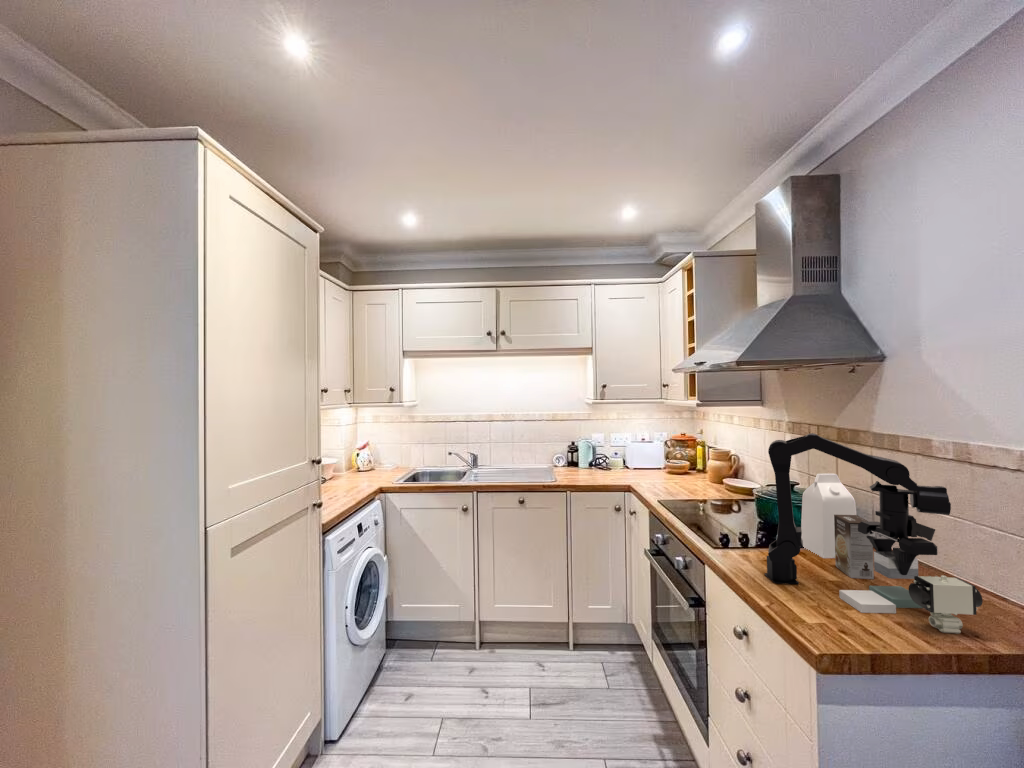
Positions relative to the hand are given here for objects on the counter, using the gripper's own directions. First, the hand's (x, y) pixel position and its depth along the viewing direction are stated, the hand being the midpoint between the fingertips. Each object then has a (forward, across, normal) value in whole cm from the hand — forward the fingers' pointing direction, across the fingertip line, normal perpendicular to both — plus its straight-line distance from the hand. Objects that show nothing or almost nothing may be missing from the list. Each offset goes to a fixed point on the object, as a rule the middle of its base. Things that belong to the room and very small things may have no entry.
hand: (895, 570), depth 115 cm
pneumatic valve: (+8, -14, 0) cm, 16 cm away
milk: (+8, +36, -6) cm, 37 cm away
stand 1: (+8, -3, +9) cm, 12 cm away
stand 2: (+8, 0, 0) cm, 8 cm away
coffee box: (+8, +18, -2) cm, 20 cm away
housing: (+1, 0, 0) cm, 1 cm away
